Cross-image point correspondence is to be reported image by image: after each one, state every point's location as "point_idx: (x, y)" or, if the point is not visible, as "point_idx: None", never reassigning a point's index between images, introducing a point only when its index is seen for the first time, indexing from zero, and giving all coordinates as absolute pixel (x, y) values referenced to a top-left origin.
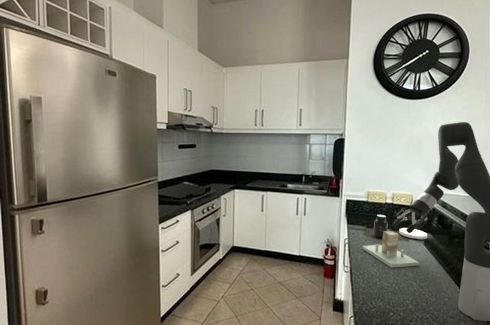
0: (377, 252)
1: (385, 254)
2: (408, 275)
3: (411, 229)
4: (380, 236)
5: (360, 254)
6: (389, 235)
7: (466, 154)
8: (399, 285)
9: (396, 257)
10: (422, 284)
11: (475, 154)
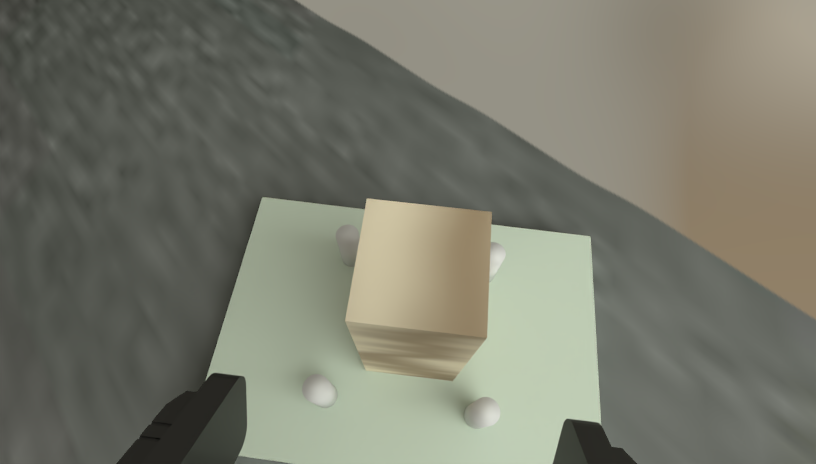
0: None
1: None
2: (148, 226)
3: (153, 432)
4: None
5: (491, 167)
6: (380, 207)
7: None
8: (115, 97)
9: (329, 326)
10: (41, 211)
11: None
